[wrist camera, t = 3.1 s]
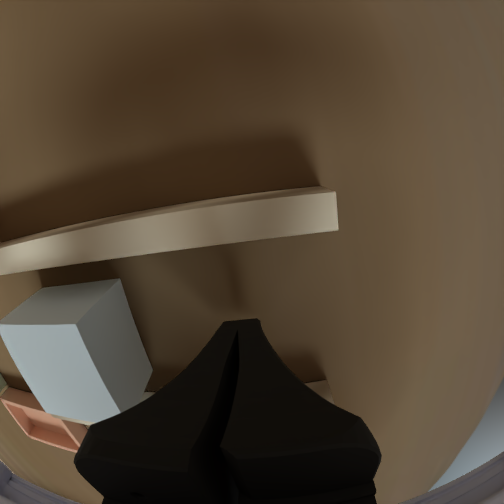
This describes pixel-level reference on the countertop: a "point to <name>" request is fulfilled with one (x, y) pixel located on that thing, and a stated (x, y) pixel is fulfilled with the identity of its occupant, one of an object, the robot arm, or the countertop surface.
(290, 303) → the countertop surface
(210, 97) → the countertop surface
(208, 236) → the track
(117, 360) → the block
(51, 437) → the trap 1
